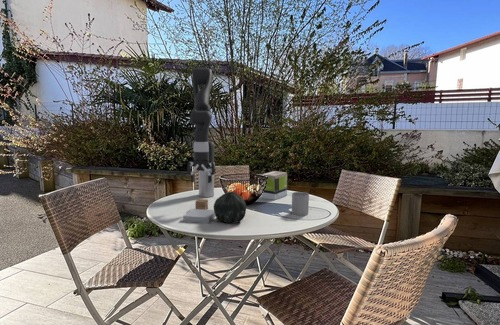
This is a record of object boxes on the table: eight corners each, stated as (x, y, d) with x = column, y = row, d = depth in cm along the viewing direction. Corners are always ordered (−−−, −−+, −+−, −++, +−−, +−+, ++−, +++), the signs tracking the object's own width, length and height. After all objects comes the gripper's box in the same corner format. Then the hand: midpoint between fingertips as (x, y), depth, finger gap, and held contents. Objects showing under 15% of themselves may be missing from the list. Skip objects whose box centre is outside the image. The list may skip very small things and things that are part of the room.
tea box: (273, 193, 200) (274, 170, 198) (287, 195, 194) (288, 172, 192) (260, 197, 188) (260, 173, 186) (274, 200, 182) (275, 175, 180)
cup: (297, 216, 151) (298, 196, 150) (288, 212, 159) (288, 192, 157) (311, 214, 155) (312, 194, 154) (301, 210, 163) (302, 191, 161)
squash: (229, 202, 155) (217, 183, 145) (255, 207, 148) (245, 188, 138) (215, 226, 148) (202, 208, 138) (242, 233, 140) (231, 215, 130)
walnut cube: (198, 208, 164) (198, 198, 164) (207, 208, 163) (207, 199, 163) (195, 210, 159) (195, 201, 159) (204, 211, 159) (204, 201, 158)
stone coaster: (192, 213, 154) (192, 208, 154) (216, 215, 152) (216, 210, 152) (183, 221, 142) (183, 216, 142) (208, 223, 140) (208, 217, 140)
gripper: (216, 150, 160) (216, 181, 162) (190, 149, 162) (190, 180, 164) (212, 151, 153) (212, 184, 155) (185, 150, 155) (185, 183, 157)
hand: (201, 182), depth 159 cm, fingers open, 8 cm apart
